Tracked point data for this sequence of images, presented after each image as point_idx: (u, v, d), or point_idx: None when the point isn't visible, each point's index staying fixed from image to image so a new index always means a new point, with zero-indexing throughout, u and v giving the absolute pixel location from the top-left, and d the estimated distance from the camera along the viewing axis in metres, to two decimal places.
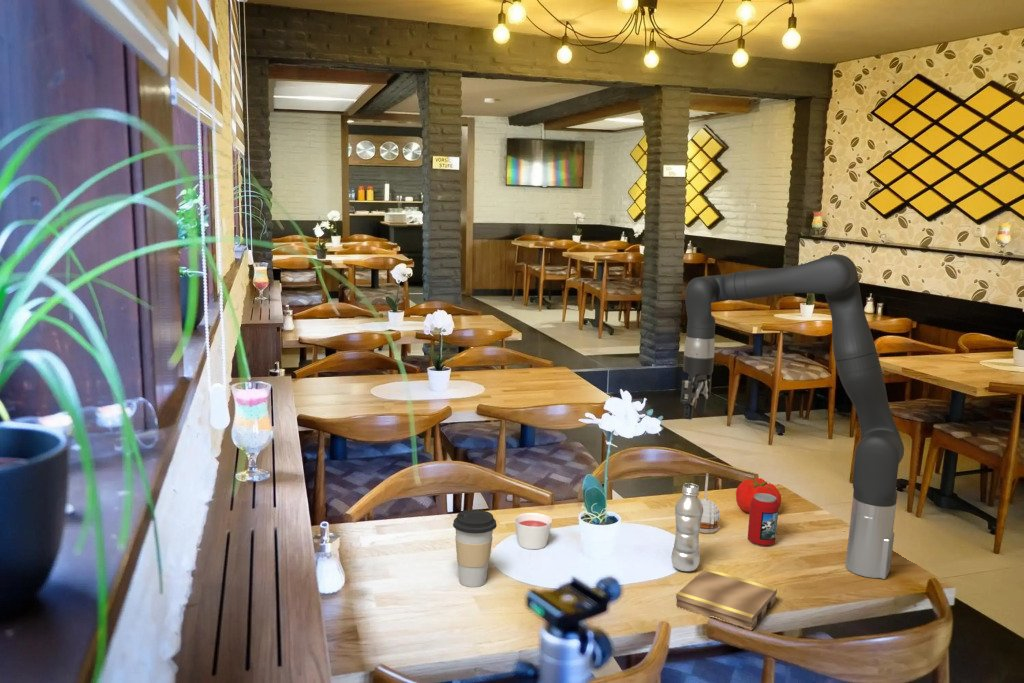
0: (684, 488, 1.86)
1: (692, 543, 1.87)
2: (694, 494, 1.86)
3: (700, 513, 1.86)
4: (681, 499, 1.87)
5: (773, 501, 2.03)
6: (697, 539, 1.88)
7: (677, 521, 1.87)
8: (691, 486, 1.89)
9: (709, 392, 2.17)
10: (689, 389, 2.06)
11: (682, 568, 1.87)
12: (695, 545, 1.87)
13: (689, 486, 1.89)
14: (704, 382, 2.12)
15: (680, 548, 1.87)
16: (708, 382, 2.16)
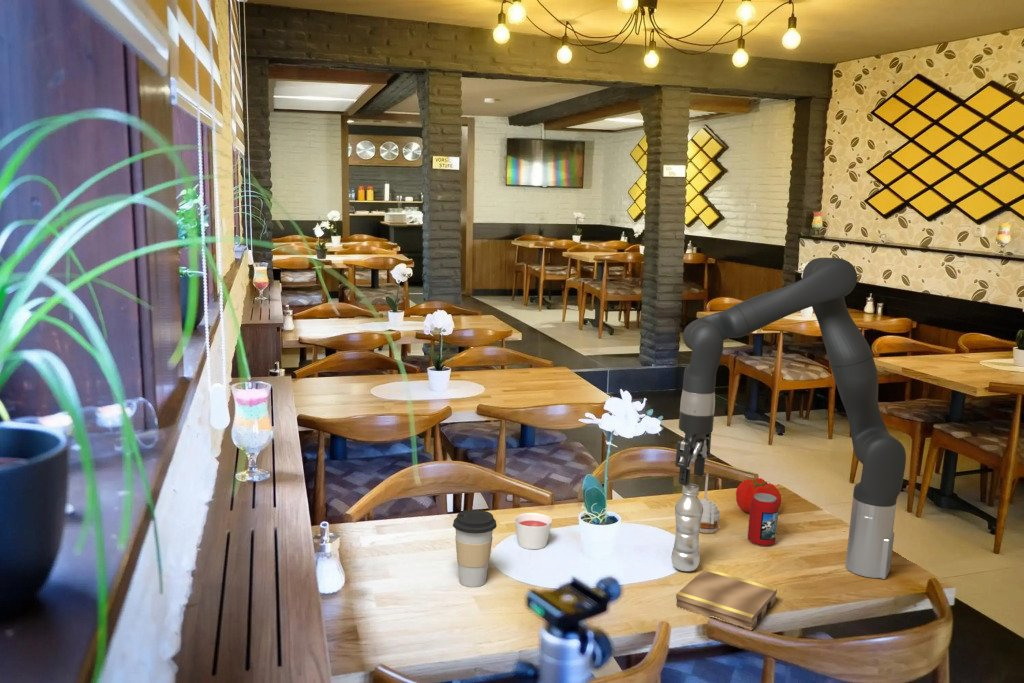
0: (684, 488, 1.86)
1: (692, 543, 1.87)
2: (694, 494, 1.86)
3: (700, 513, 1.86)
4: (681, 499, 1.87)
5: (773, 501, 2.03)
6: (697, 539, 1.88)
7: (677, 521, 1.87)
8: (691, 486, 1.89)
9: (708, 451, 1.90)
10: (685, 452, 1.79)
11: (682, 568, 1.87)
12: (695, 545, 1.87)
13: (689, 486, 1.89)
14: (703, 442, 1.85)
15: (680, 548, 1.87)
16: (707, 440, 1.90)
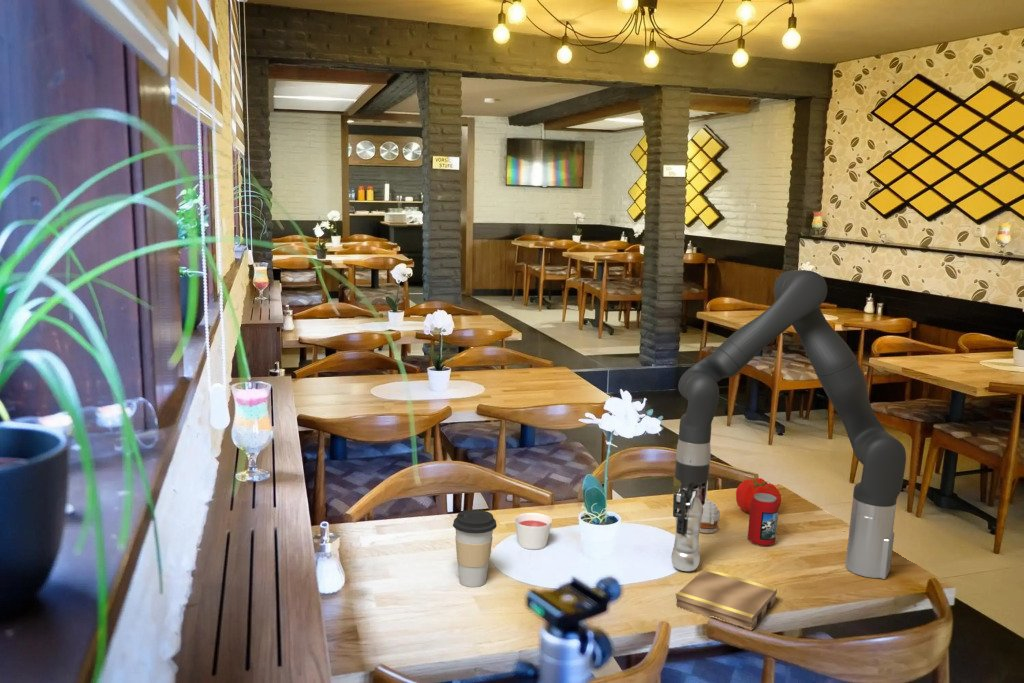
0: None
1: (692, 543, 1.87)
2: None
3: (700, 513, 1.86)
4: None
5: (773, 501, 2.03)
6: (697, 539, 1.88)
7: None
8: None
9: (703, 501, 1.92)
10: (682, 504, 1.82)
11: (682, 568, 1.87)
12: (695, 545, 1.87)
13: None
14: (699, 490, 1.87)
15: (680, 548, 1.87)
16: (703, 489, 1.91)
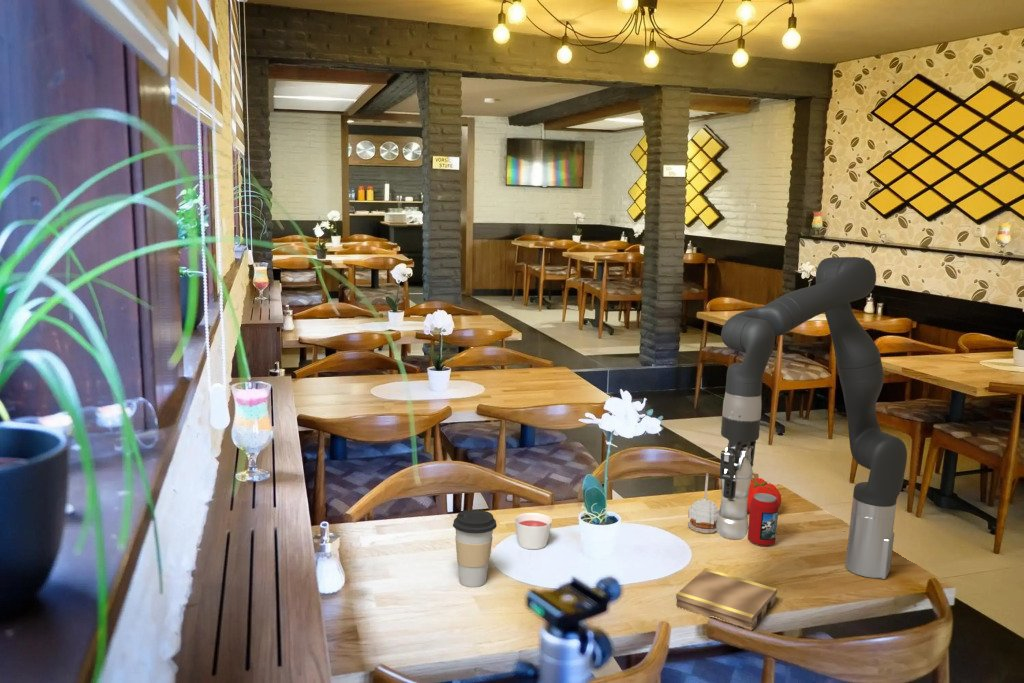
0: None
1: (741, 508, 1.68)
2: None
3: (749, 475, 1.67)
4: None
5: (773, 501, 2.03)
6: (746, 504, 1.69)
7: (723, 484, 1.69)
8: None
9: (751, 463, 1.73)
10: (730, 463, 1.63)
11: (730, 536, 1.69)
12: (743, 511, 1.68)
13: None
14: (748, 449, 1.68)
15: (727, 515, 1.68)
16: (751, 450, 1.72)
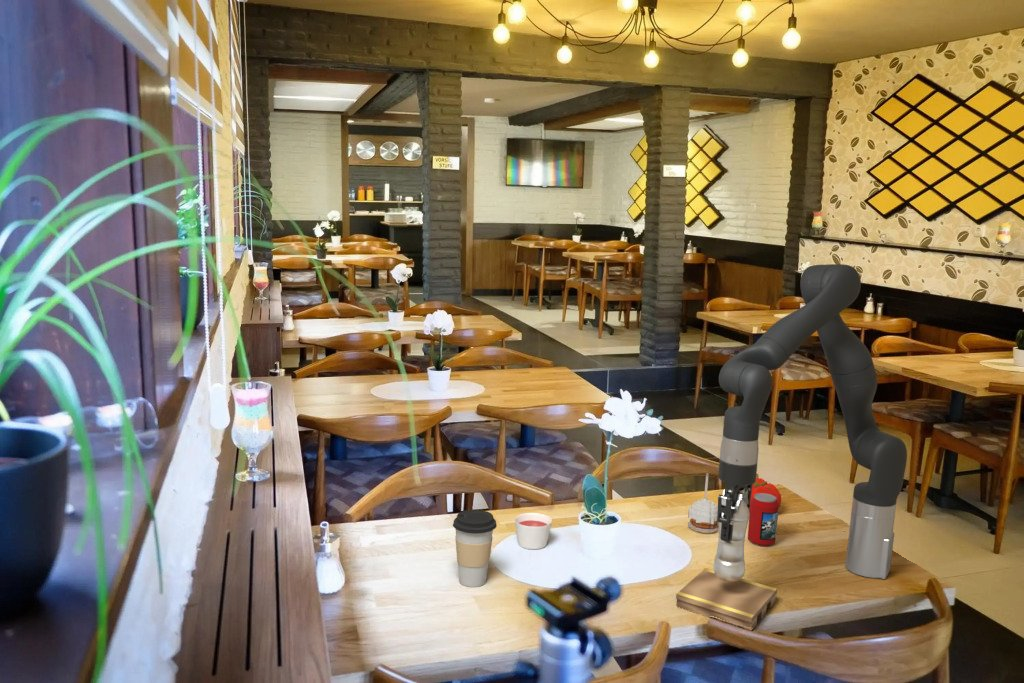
0: None
1: (738, 551, 1.69)
2: None
3: (746, 518, 1.68)
4: None
5: (773, 501, 2.03)
6: (743, 546, 1.70)
7: None
8: None
9: (748, 504, 1.74)
10: (728, 507, 1.64)
11: (726, 578, 1.70)
12: (740, 553, 1.70)
13: None
14: (745, 492, 1.69)
15: (724, 557, 1.70)
16: (748, 492, 1.74)
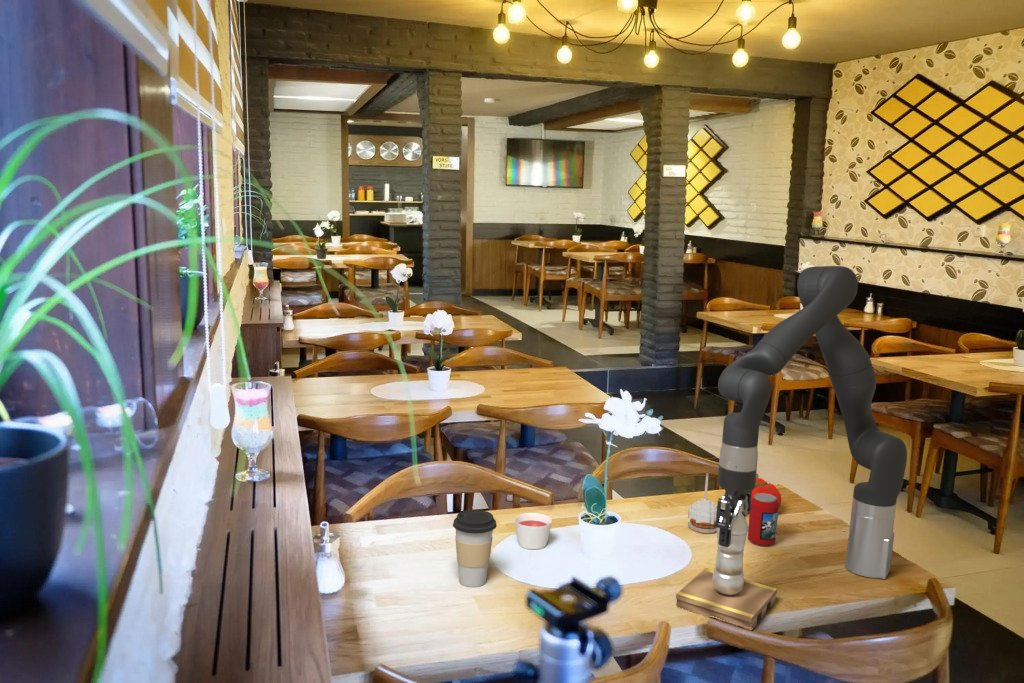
0: None
1: (736, 564, 1.69)
2: None
3: (745, 531, 1.68)
4: None
5: (773, 501, 2.03)
6: (741, 559, 1.70)
7: None
8: None
9: (749, 507, 1.75)
10: (727, 511, 1.64)
11: (725, 591, 1.70)
12: (739, 566, 1.70)
13: None
14: (744, 498, 1.69)
15: (723, 570, 1.70)
16: (748, 495, 1.74)
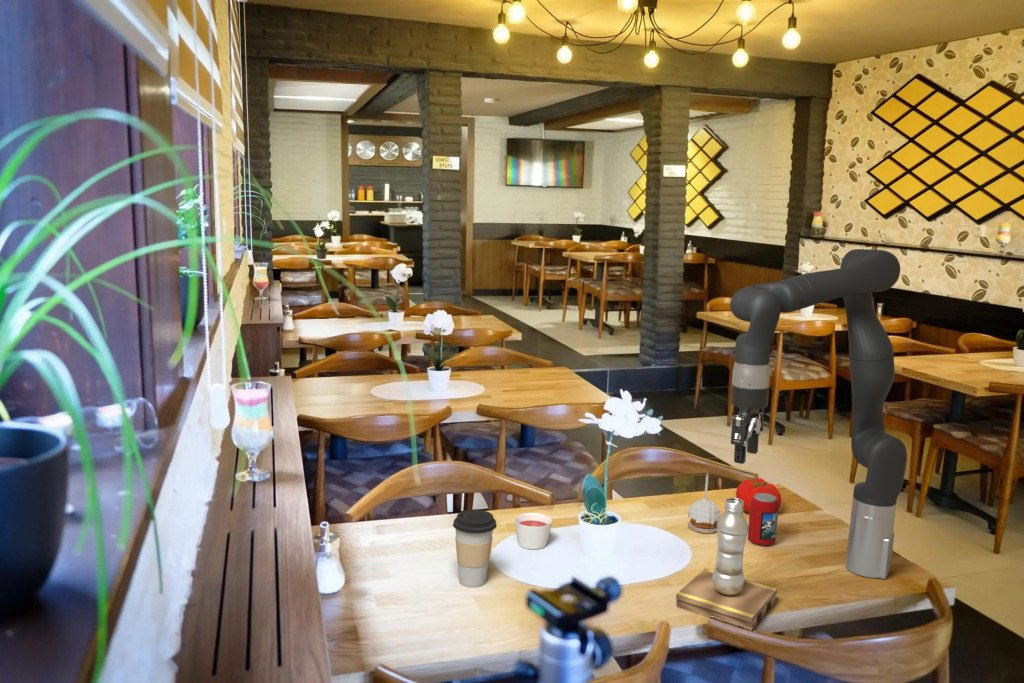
0: (727, 503, 1.69)
1: (737, 564, 1.69)
2: (739, 510, 1.68)
3: (745, 531, 1.68)
4: (724, 515, 1.70)
5: (773, 501, 2.03)
6: (741, 559, 1.70)
7: (719, 540, 1.70)
8: (734, 501, 1.71)
9: (761, 427, 1.79)
10: (742, 427, 1.68)
11: (725, 591, 1.70)
12: (739, 566, 1.70)
13: (732, 501, 1.71)
14: (757, 417, 1.74)
15: (723, 570, 1.70)
16: (760, 415, 1.78)
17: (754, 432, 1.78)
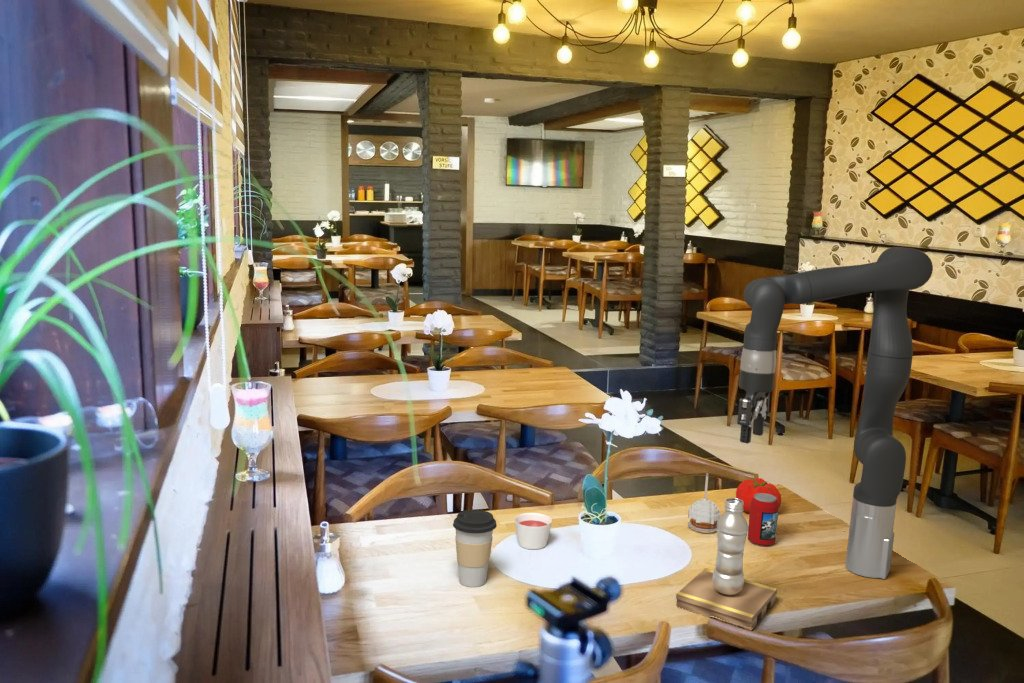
0: (727, 503, 1.69)
1: (737, 564, 1.69)
2: (739, 510, 1.68)
3: (745, 531, 1.68)
4: (724, 515, 1.70)
5: (773, 501, 2.03)
6: (741, 559, 1.70)
7: (719, 540, 1.70)
8: (734, 501, 1.71)
9: (767, 411, 1.91)
10: (748, 409, 1.80)
11: (725, 591, 1.70)
12: (739, 566, 1.70)
13: (732, 501, 1.71)
14: (763, 400, 1.85)
15: (723, 570, 1.70)
16: (766, 400, 1.90)
17: (760, 415, 1.90)
